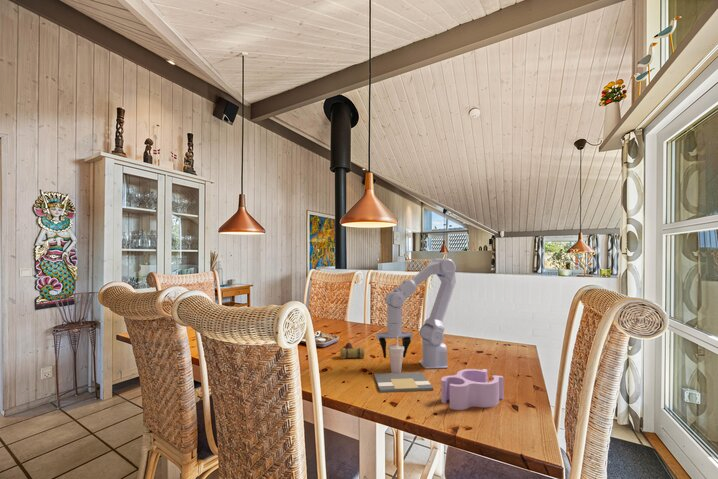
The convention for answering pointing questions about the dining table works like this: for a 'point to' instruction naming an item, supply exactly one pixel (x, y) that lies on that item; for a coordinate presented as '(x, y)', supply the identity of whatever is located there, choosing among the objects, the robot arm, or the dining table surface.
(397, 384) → the board
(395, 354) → the smoothie
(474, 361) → the dining table surface
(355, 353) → the gavel
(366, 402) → the dining table surface
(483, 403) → the clip
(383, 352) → the robot arm
